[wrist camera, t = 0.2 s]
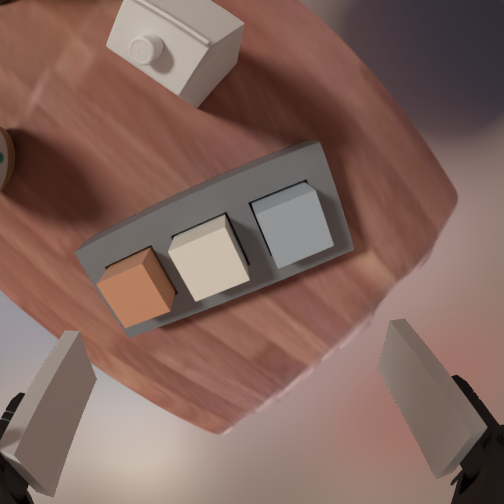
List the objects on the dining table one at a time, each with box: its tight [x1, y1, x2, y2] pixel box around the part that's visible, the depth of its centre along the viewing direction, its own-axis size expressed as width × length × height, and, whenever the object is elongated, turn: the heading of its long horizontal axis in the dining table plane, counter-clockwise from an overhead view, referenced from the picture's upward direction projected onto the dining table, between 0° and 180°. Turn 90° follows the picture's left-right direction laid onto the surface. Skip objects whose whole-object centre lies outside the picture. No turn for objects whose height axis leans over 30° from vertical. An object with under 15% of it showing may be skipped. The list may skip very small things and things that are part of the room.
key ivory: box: [168, 212, 250, 302], centre depth 33 cm, size 6×6×6 cm
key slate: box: [251, 181, 334, 269], centre depth 33 cm, size 6×6×6 cm
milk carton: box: [107, 0, 244, 108], centre depth 22 cm, size 7×7×19 cm
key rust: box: [96, 245, 176, 328], centre depth 34 cm, size 6×6×6 cm
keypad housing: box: [74, 140, 355, 338], centre depth 37 cm, size 13×30×5 cm, turn 112°
